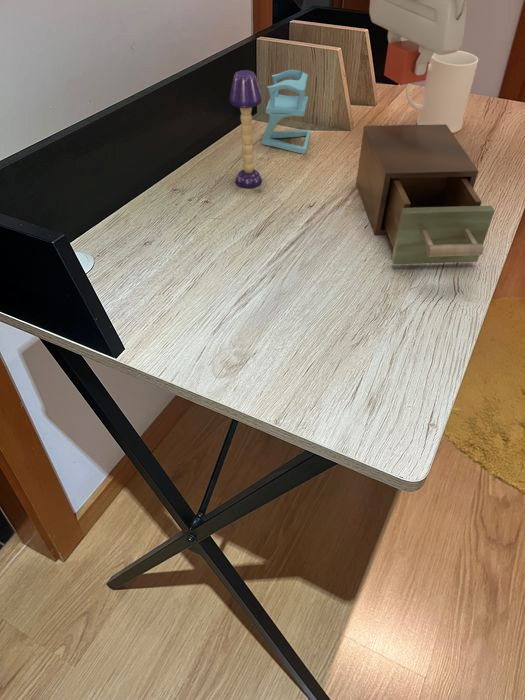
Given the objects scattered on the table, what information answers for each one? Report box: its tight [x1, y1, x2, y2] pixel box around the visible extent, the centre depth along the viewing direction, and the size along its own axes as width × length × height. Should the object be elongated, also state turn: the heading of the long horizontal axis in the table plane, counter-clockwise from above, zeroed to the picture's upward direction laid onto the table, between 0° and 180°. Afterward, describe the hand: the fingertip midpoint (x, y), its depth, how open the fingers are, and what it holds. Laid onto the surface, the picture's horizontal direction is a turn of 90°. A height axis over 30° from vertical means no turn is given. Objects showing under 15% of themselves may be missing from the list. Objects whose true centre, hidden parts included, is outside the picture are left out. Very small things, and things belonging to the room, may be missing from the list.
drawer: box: [382, 177, 496, 265], centre depth 76 cm, size 18×11×8 cm, turn 4°
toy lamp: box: [229, 69, 263, 189], centre depth 86 cm, size 5×5×17 cm
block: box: [383, 39, 430, 86], centre depth 94 cm, size 5×5×5 cm
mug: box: [405, 50, 479, 134], centre depth 105 cm, size 12×8×12 cm
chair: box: [261, 69, 311, 155], centre depth 98 cm, size 8×8×12 cm
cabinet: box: [355, 124, 479, 236], centre depth 84 cm, size 15×13×10 cm
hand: (406, 67), depth 94 cm, fingers closed on block, 5 cm apart
